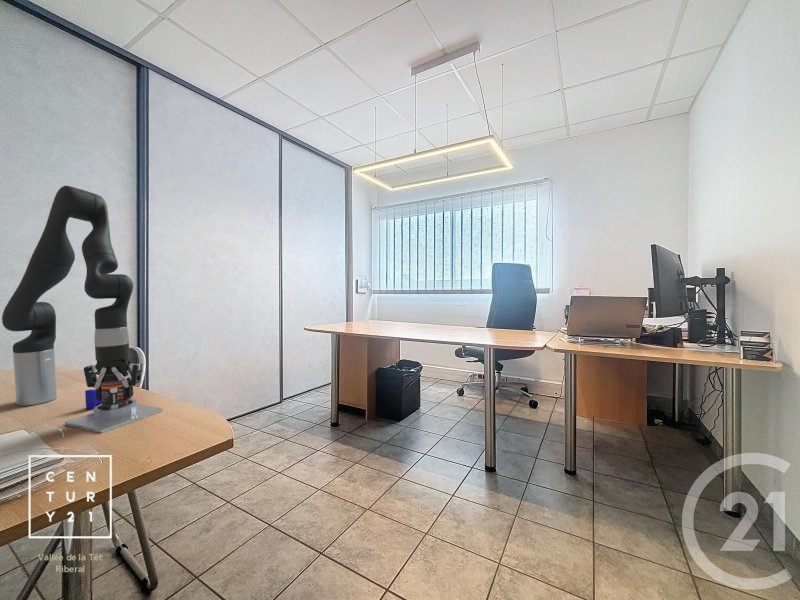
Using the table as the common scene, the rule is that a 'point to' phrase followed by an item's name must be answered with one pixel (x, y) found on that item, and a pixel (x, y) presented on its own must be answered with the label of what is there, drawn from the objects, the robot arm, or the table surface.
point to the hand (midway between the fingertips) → (115, 399)
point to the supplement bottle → (112, 393)
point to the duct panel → (114, 423)
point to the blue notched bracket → (91, 399)
